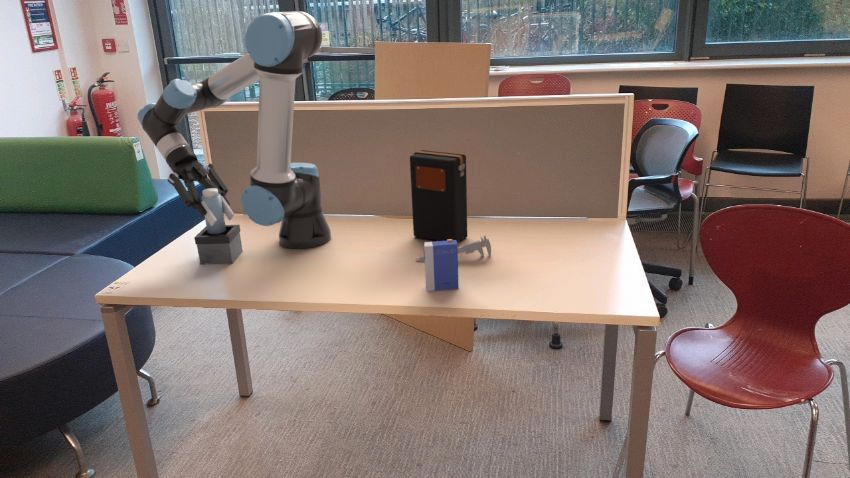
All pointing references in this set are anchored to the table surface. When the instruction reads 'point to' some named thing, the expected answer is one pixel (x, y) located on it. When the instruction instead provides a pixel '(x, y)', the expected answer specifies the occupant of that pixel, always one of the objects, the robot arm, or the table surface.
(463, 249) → the caliper
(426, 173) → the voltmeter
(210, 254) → the square planter pot
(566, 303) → the table surface
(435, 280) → the walkman
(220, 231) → the white-capped blue bottle
